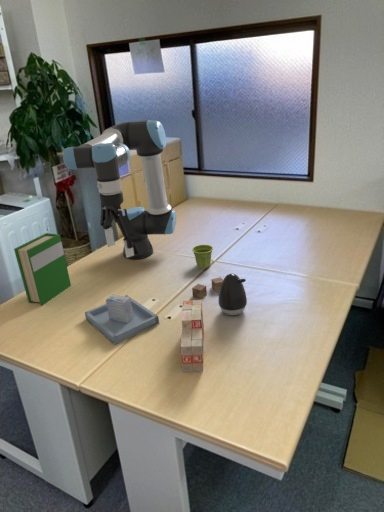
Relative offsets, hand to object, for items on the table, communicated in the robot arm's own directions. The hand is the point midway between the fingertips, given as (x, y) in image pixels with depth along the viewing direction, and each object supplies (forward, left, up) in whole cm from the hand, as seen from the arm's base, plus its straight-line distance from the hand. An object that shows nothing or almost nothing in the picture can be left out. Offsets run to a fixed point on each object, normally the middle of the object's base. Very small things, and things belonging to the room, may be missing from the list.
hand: (120, 250), depth 141 cm
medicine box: (+3, -5, -25) cm, 25 cm away
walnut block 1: (+9, +27, -26) cm, 38 cm away
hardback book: (-38, -17, -26) cm, 49 cm away
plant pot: (-11, +46, -26) cm, 54 cm away
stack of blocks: (+35, +3, -26) cm, 43 cm away
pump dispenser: (+27, +28, -26) cm, 46 cm away
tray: (+3, -5, -25) cm, 26 cm away
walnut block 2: (+10, +36, -26) cm, 45 cm away
